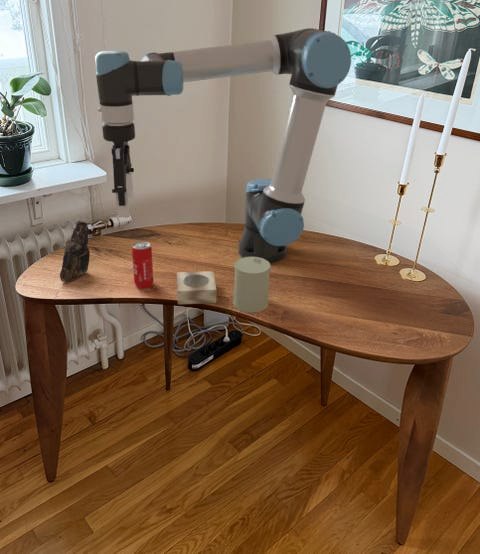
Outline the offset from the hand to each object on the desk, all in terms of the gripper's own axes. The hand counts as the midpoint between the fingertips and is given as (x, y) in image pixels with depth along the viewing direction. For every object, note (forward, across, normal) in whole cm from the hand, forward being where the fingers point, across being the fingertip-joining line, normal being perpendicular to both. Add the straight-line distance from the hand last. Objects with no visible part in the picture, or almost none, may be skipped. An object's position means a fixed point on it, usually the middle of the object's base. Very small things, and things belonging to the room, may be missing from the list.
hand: (126, 206), depth 134 cm
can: (+23, +13, +31) cm, 41 cm away
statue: (+22, -5, -16) cm, 28 cm away
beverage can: (+23, +1, +3) cm, 23 cm away
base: (+23, +7, +17) cm, 29 cm away
